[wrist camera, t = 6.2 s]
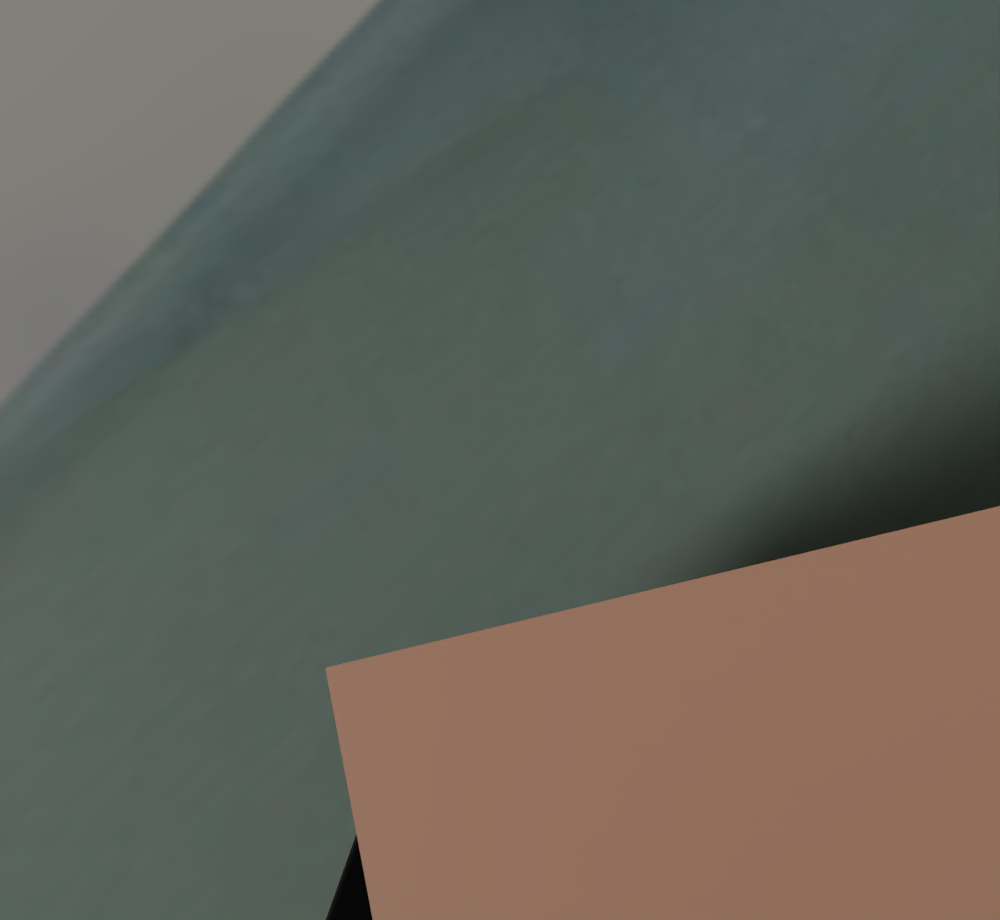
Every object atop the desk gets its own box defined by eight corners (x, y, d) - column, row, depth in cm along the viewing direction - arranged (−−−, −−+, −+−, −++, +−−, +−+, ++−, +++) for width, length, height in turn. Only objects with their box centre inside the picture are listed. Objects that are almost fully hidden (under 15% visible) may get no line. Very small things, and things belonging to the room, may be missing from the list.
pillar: (772, 907, 15) (1873, 1666, 3) (498, 981, 14) (606, 2159, 3) (692, 629, 16) (1296, 435, 4) (436, 691, 15) (324, 666, 4)
